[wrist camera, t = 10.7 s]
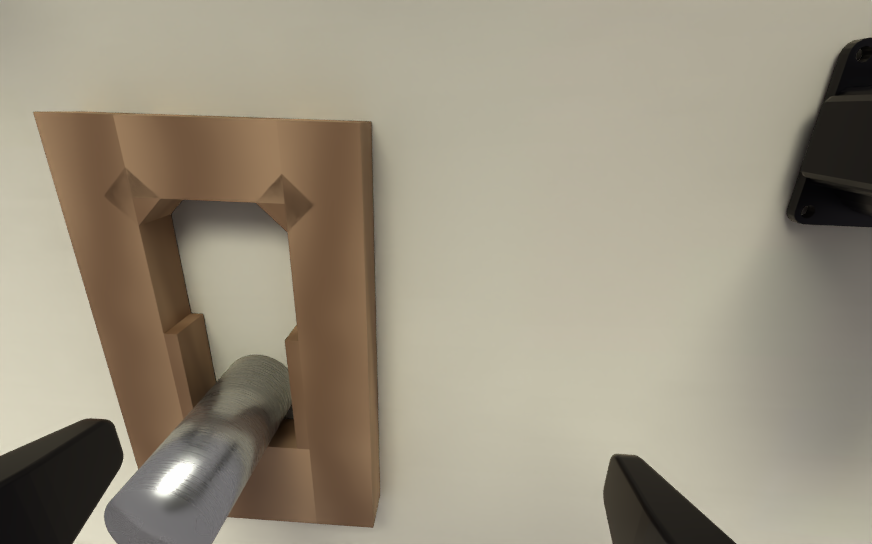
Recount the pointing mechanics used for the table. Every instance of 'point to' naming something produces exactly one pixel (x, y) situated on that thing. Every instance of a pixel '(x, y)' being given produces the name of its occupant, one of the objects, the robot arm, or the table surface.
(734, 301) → the table surface
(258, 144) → the keyhole board
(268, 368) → the peg
